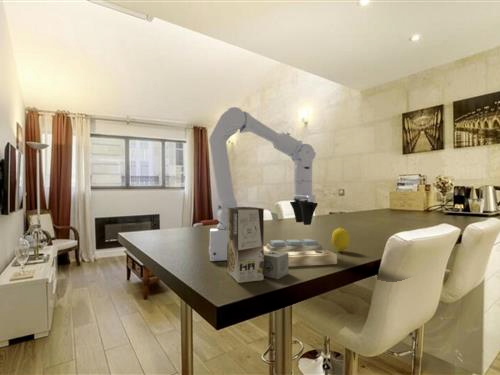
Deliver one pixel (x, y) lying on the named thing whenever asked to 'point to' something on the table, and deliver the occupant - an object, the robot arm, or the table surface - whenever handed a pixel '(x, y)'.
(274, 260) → the dice cube
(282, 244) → the button left
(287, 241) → the button middle
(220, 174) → the robot arm
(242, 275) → the coffee box
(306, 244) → the button right
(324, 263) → the button board
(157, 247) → the table surface
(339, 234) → the lemon
